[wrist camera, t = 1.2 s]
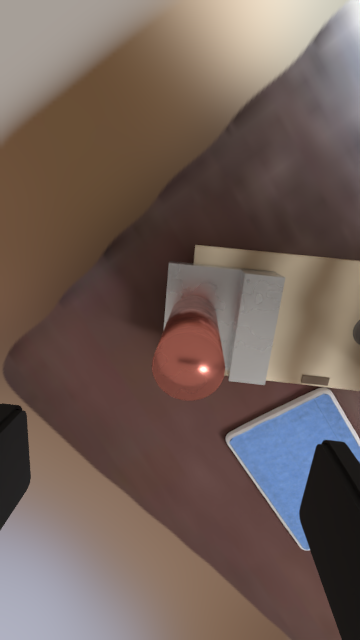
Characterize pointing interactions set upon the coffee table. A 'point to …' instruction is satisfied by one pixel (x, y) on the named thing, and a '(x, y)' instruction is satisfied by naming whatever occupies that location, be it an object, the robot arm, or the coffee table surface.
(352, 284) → the base
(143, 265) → the coffee table surface
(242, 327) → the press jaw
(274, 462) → the tablet computer
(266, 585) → the coffee table surface
